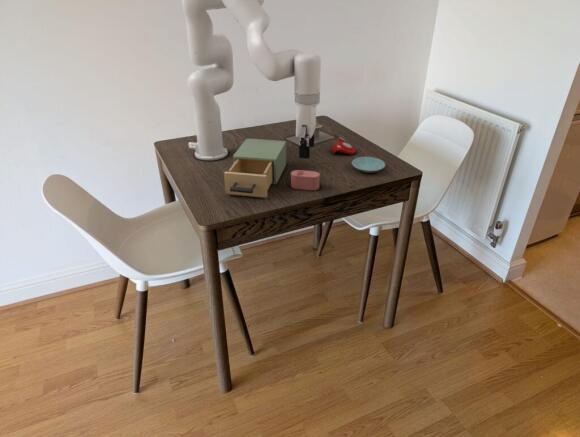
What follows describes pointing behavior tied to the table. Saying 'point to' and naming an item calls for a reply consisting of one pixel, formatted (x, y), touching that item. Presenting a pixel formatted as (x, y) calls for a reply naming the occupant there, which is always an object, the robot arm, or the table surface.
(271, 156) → the cabinet
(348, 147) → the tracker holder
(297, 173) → the pink notched rounded block
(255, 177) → the drawer
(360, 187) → the table surface
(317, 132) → the platform
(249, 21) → the robot arm
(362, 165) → the saucer
